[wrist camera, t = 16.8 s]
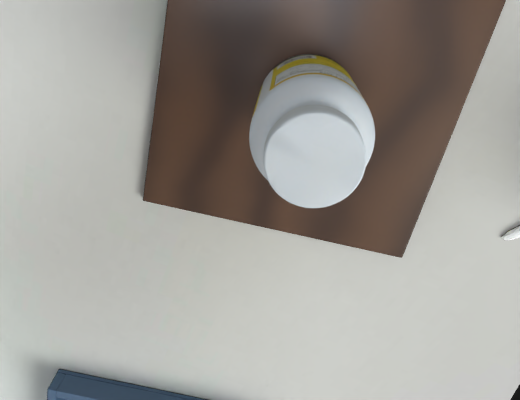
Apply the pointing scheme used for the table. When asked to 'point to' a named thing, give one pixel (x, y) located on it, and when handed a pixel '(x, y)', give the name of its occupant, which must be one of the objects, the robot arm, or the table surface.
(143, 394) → the tray
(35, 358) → the table surface
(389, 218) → the mat
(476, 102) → the table surface
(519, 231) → the tree stump
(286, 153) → the pill bottle
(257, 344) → the table surface
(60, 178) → the table surface
